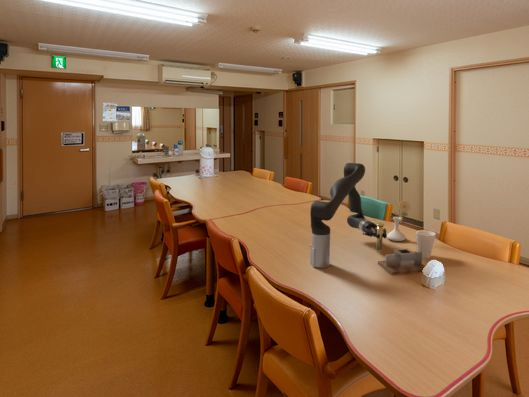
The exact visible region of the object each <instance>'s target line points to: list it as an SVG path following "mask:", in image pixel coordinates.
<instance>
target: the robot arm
mask: <svg viewBox="0 0 529 397" xmlns="http://www.w3.org/2000/svg"><path fill="white" fill-rule="evenodd" d="M365 174H366V167H365V165H364V164H362V163H357V162H356V163H355V162H346V163H345V165H344V167H343V177H342V178H339V179H337V180H336V181H335V182H334V183H333V185H332V186H331V187H330V191H329V195H330V198H331V199H330V200H329V201H321V200H315V201H313V202H312V203H311V204H310V205H311V206H310V210H309V211H310V228H311V245H310V247H309V248H310V249H309V250H310V251H309V252H310V253H309V255H310V256H309V258H310V259H309V261H310V262H309V263H310V265H311V266H312V267H313V268H317V269H323V268H325V269H326V268H329V267H330V265H331V264H330V263H331V262H330V261H331V260H330V259H331V258H330V256H331V254H330V253H331V226H329V225H327V224H325V223H324V221H326V222H328V221H330V220H332V219H333V217H334V215H335V214H336V212H337V210H338V209H339V207H340V206H341V204H342V203H343V201H344V200H345V199H346V198H347V197H348V206H349V212H350V213H353V214H351V215H348V216H347V219H346V222H347V224H348V226H349V227H351V228H353V229H357V230H359V231H361V232H362V235H365V236H367V237H369V238H370V237H371V238H372V237H373V238H376V239H377V238H378V239H380V234H378V233H377V223H374V222H372V221H371V220H368V219H367V218H366V217H365V214H364V212H363V209H362V198H361V195H360V193H359V192H358V190H357V189H356V187H355V186H356V185H357V184H358V183H359V182H360V181H361V180H362V179H363V178H364V176H365ZM387 234H388V233H387V228H384V227H383V239H387Z"/></svg>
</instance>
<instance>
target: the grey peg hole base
mask: <svg viewBox="0 0 529 397" xmlns="http://www.w3.org/2000/svg"><path fill="white" fill-rule="evenodd" d="M385 261H386V260H378V261H377V265H379V266H380V267H381V268H382V269H384V270H385V271H386V272H387V273H388V274H390V275H391V276H397V275H407V274H419V273H423V272H422V270H423V268H424V267H425V266H426V265H425V264H424V263H423V262H422V263H421V264H414V267H408V268H400V267H398V266H388V267H386V266H385Z"/></svg>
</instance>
